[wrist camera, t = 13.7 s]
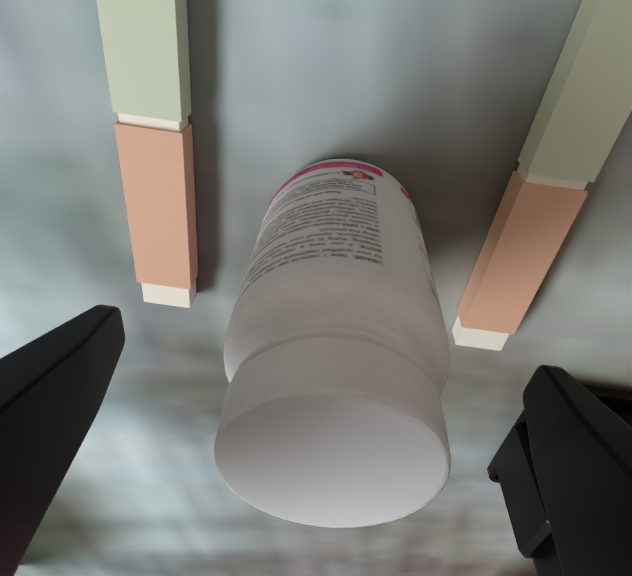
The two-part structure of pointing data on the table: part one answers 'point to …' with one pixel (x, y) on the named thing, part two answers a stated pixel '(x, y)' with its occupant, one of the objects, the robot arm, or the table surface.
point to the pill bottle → (336, 356)
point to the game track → (513, 212)
